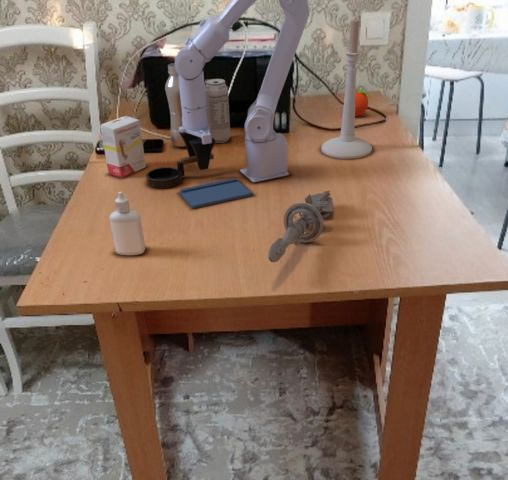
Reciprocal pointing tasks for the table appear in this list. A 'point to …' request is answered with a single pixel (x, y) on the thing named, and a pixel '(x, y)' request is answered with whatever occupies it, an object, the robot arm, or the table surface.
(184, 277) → the table surface
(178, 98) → the plastic bottle
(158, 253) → the table surface
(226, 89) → the energy drink can
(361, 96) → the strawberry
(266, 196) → the table surface
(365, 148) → the candlestick
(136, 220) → the eye dropper bottle
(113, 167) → the ink box
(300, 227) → the spaceship
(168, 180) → the pan
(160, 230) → the table surface
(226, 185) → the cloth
